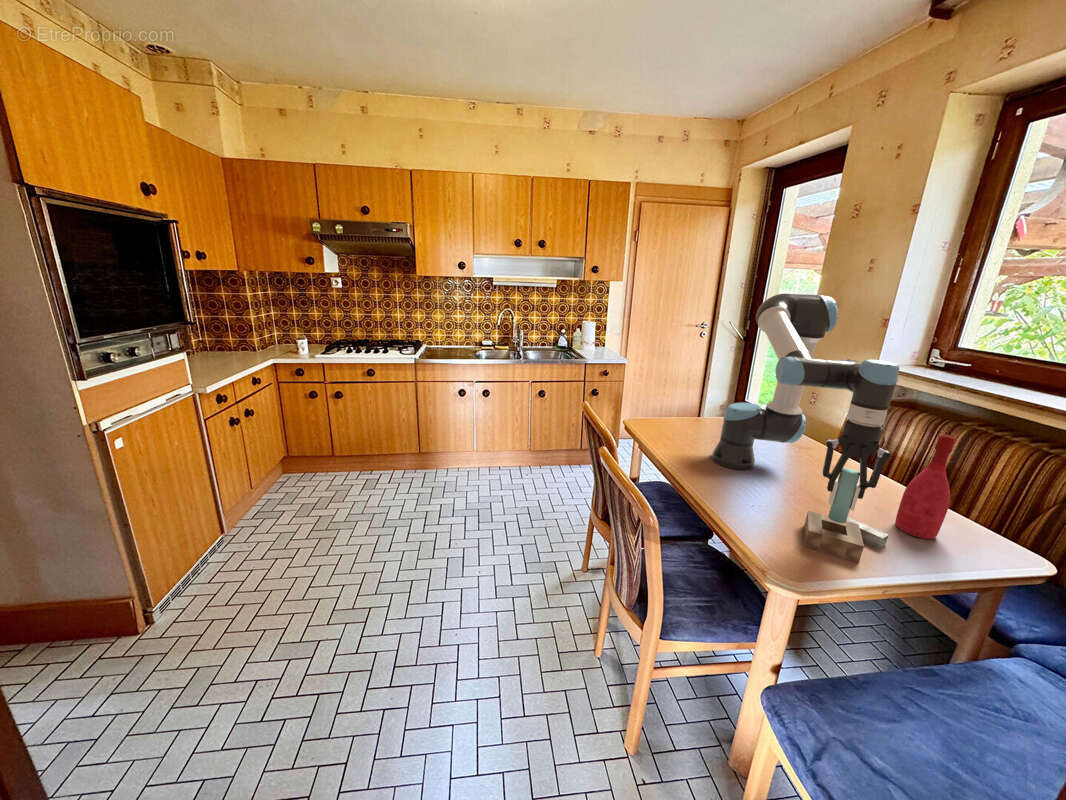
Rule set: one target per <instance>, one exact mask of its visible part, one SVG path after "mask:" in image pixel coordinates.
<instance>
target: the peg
mask: <svg viewBox="0 0 1066 800" xmlns="http://www.w3.org/2000/svg"><path fill="white" fill-rule="evenodd" d="M837 479H838V487H837V491H836V494H835V498H834V502H833V505H831V506H830V509H829V512H828V515H827V516H828V517H829V518H830V519H831V520H833V521H835V522H839V523H846V521H847V517H849V514H850V511H851V510H850V507H851V503H852V500H853V496H854V493H855V490H856V486H857V484H859V483H858V482H859V480H860V471H858V470H856V469H852V468H848V467H843V469H842V470H841V472H840V474H839V475H838V478H837Z"/></svg>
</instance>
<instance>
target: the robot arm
mask: <svg viewBox="0 0 1066 800" xmlns="http://www.w3.org/2000/svg"><path fill="white" fill-rule="evenodd" d="M838 317H839V310H838V304H837V302H836V300H835V299H834V298H833V297H831V296H829V295H828V296H827V295H822V294H805V293H804V294H801V293H800V294H799V293H785V292H784V293H780V294H779V293H777V294H775V295H773V296H771V297H769V298H767V299H766V300H765V301H763V302H762V303H761V304H760V306H759V307H758V309H757V311H756V315H755V321H756V324H757V326H758V328H759V329H760V331H762V332H764V333H765V335H766V336H767V339H768V341H769V343H770V344H771V347H772V348H773V351H774V353H775V355H776V358H777V359H778V360H777V362H776V366H775V378H776V381H777V382H776V386H775V390H774V394H773V398H772V400H771V401H770V402H767V403H766V406H765V408H764V409H762V408H761V406H760V405H758V404H756V403H750V402H734V403H731V404H729V405H728V406H727V407H726V409H725V412H724V415H723V423H722V427H721V433H720V437H719V438H720V439H719V441H718V443H717V444H716V446H715V448H714V449H713V452H712V456H711V460H713V462H714V463H716V464H718V465H720V466H722V467H725V468H728V469H733V470H738V471H739V470H741V471H748V470H752V469H753V468H754V467H755V463H756V458H755V454H754V443H755V442H754V441H755V440H759V441H765V442H766V441H767V442H775V443H782V444H786V443H789V444H793V443H795V442H798V441H799V440H800V439H801V438H802V437H803V435H804V433H805V430H806V423H807V419H806V416H805V415H804V414H803V409H802V408H801V407H800V404H801V399H802V396H803V393H804V389H805V387H812V388H813V387H814V388H823V389H824V388H825V389H836V390H843V391H844V390H845V391H849V392H851V393H852V396H851V399H850V404H849V407H848V411H847V414H846V418H847V419H846V420H845V422H844V425H843V429H842V433H841V435H840V436H839V437H838V438H837V439H831V438H827V439H826V440H825V443H826V444H825V445H826V453H825V458H824V463H823V467H822V476H823V477H824V478H826V479H828V482H827V486H826V489H827V492H830V494H829V497H828V505H833V502H834V498H835V494H836V491H837V487H838V479H839V475H840V472H841V470H842V469H843V468H845V465H846V463H847V461H848V460H850V459H849V458H857V459H859V473H860V476H859V483H857V486H856V490H855V493H854V496H853V500H852V503H851V507H850V510H849V511H855V508H856V505H857V501H858V499H859V500H862V499H863V498H864V496H865V492H866V490H867V489H868V488H872V489H875V488H877V485H878V483H879V480H880V478H881V474H882V472H883V469H884V466H885V463H886V462H887V461H888V459H890V458H891V453H890V451H889V450H888V449H883V448H881V447H880V444H879V443H880V438H881V434H882V432H883V429H884V428H883V427H882V426H883V425H885V422H886V417H887V413H888V410H889V407H890V405H891V402H892V398H893V394H894V392H895V388H896V385H897V383H898V382H899V379H898V377H899V373H900V365H899V364H897V363H896V362H892V361H887V360H881V359H880V360H879V359H864V360H862V361H858V360H851V359H841V360H832V359H822V358H821V359H820V358H814V355H815V353H816V348H817V343H818V342H819V341H821V340H823V339H824V338H825V335H826V333H829V332H832V331H833V330H834V328H835V327H836V326H837V322H838ZM838 445H839V446H840V448H841V450H842V452H841V455H840V457H839V458H838V460H837V462H836V464H835V466H834V467H833V469H832V471H830V469H831V464H832V460H833V456H834V449H836V448H837V447H838ZM875 453H876V455H877V458H876V460H875V463H874V467H873V469H872V472H871V475H870V478H869V480H868V458H870V456H872V455H874V454H875Z"/></svg>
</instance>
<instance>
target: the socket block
mask: <svg viewBox="0 0 1066 800" xmlns="http://www.w3.org/2000/svg"><path fill="white" fill-rule="evenodd" d="M803 536H804V537H803V542H804V543H803V544H804V545H803V547H804V548H809V549H811V550H815V551H818V552H820V553H824V554H828V555H831V556H834V557H837V558H841V559H844V560H847V561H849V562H854V563H857V564H860V562H861V558H862V553H863V552H864V551H863V550H864V549H865V544H864V542H863V540H862V536H861V531H860V527H859V524H855V523H851V522H848V521H846V523H839V522H835V521H833V520H831V519H830V518H829V517H828V515H825V514H820V513H818V512H813V511H810V510H807V513H806V518H805V521H804V524H803Z"/></svg>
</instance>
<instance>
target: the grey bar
mask: <svg viewBox="0 0 1066 800" xmlns="http://www.w3.org/2000/svg"><path fill="white" fill-rule="evenodd" d="M847 521H848V522H851V523H855V524H859V527H860V531H861V536H862V540H863V543H865V544H868V545H870V546H872V547H874V548H876V549H878V550H881V549H883V548H884V547H885V546H886V544H887V542H888V539H889V534H888V533H886V532H884V531H881V530H879V529H877V528H875V527H872V526H870V525H867V524H865V523H863V522H860V521H859V520H855V519H854V518H851V517H850V516H848V517H847Z"/></svg>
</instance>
